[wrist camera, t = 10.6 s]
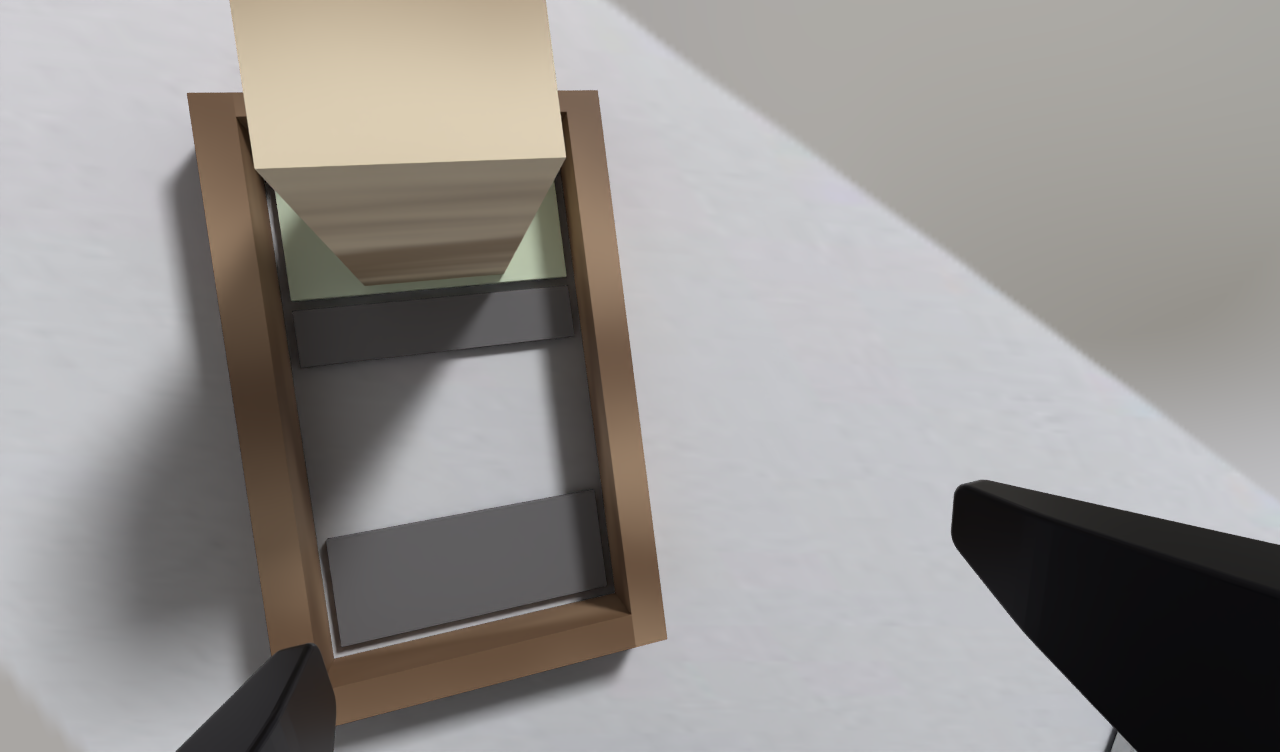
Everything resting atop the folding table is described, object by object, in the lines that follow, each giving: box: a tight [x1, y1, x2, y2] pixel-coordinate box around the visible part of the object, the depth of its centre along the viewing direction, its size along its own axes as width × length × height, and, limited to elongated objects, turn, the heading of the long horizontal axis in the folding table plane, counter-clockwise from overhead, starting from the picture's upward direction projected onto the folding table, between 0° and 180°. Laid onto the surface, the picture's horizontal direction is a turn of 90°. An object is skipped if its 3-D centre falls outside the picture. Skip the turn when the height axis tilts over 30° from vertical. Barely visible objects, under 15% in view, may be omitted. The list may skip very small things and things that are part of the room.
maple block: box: [230, 0, 566, 286], centre depth 14 cm, size 4×4×11 cm
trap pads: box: [292, 286, 607, 647], centre depth 20 cm, size 10×8×1 cm
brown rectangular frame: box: [187, 90, 667, 726], centre depth 19 cm, size 16×10×2 cm, turn 8°
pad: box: [275, 181, 566, 302], centre depth 19 cm, size 4×8×1 cm, turn 98°
